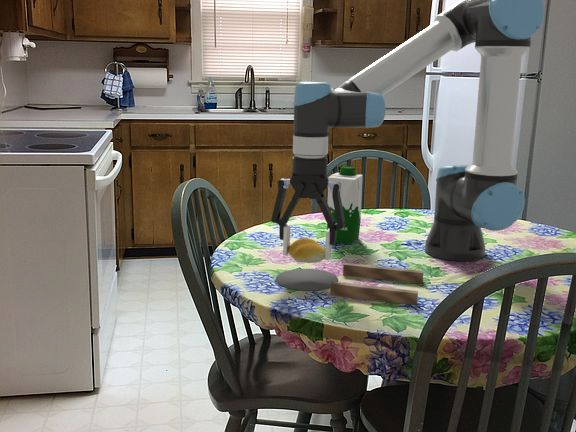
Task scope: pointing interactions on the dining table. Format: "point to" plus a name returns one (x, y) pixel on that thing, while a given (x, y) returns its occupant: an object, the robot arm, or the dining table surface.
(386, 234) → the dining table surface
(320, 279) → the mat
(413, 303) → the chute
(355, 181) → the milk carton
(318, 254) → the bread roll
